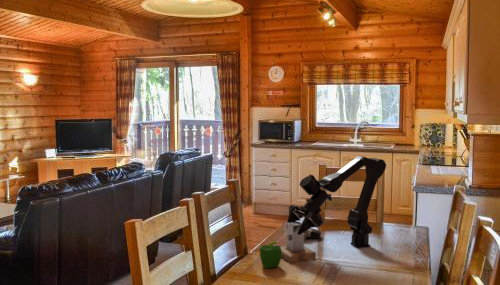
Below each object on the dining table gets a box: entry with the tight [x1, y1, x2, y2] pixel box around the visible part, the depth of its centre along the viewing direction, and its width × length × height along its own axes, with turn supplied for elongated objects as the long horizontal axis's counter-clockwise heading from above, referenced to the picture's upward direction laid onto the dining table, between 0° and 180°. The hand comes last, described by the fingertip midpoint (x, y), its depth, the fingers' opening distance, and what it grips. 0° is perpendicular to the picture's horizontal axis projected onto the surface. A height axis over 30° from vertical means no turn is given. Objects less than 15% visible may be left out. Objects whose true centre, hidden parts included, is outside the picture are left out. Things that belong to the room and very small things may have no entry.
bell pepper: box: [259, 241, 282, 269], centre depth 189 cm, size 8×8×10 cm
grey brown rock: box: [304, 227, 322, 241], centre depth 227 cm, size 7×11×10 cm
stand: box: [280, 245, 317, 264], centre depth 201 cm, size 12×12×3 cm
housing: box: [284, 221, 305, 253], centre depth 200 cm, size 6×6×11 cm
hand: (292, 231), depth 200 cm, fingers open, 9 cm apart
